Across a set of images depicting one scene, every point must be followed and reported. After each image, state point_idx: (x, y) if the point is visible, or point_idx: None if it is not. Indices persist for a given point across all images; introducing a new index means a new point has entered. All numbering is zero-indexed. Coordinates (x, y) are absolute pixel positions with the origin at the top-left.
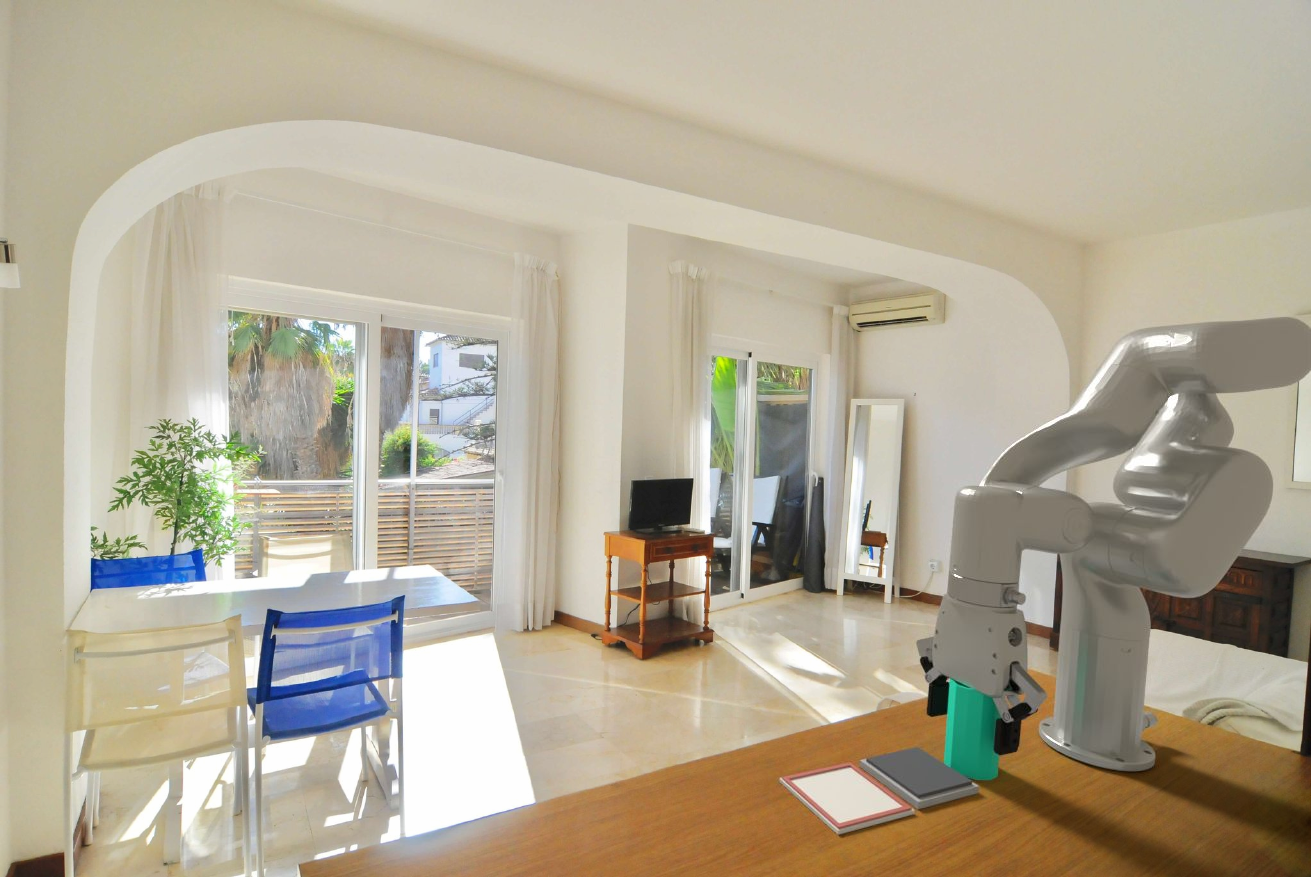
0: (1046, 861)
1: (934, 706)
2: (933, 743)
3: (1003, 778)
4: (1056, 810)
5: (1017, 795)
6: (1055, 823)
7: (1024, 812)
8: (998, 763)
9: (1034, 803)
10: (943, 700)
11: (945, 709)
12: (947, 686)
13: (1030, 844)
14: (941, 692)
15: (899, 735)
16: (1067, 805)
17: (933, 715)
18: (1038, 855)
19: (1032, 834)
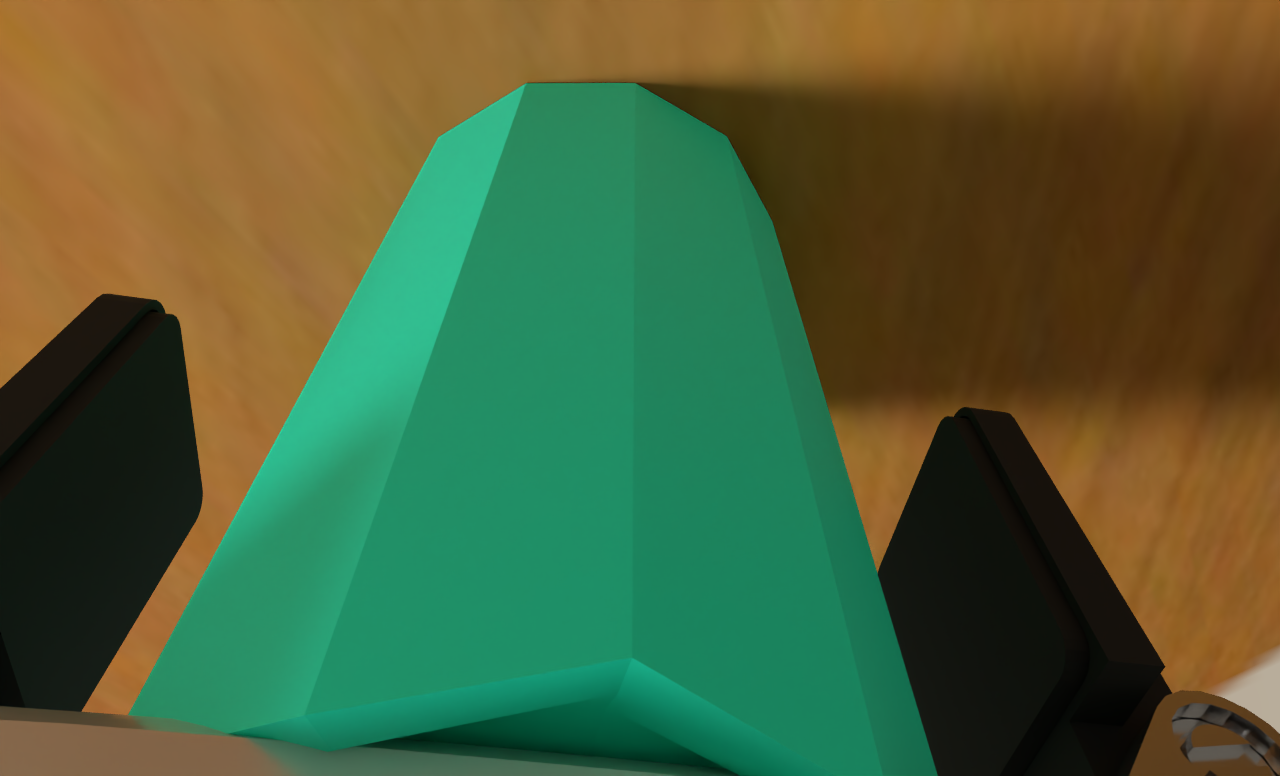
0: (1223, 666)
1: (158, 559)
2: (210, 199)
3: (809, 204)
4: (1204, 271)
5: (962, 322)
6: (1218, 402)
7: (1052, 445)
8: (785, 266)
9: (1072, 315)
10: (112, 493)
11: (155, 382)
12: (2, 589)
13: (1143, 628)
14: (61, 602)
15: (35, 320)
16: (1262, 143)
17: (194, 492)
18: (1187, 659)
19: (1134, 567)
